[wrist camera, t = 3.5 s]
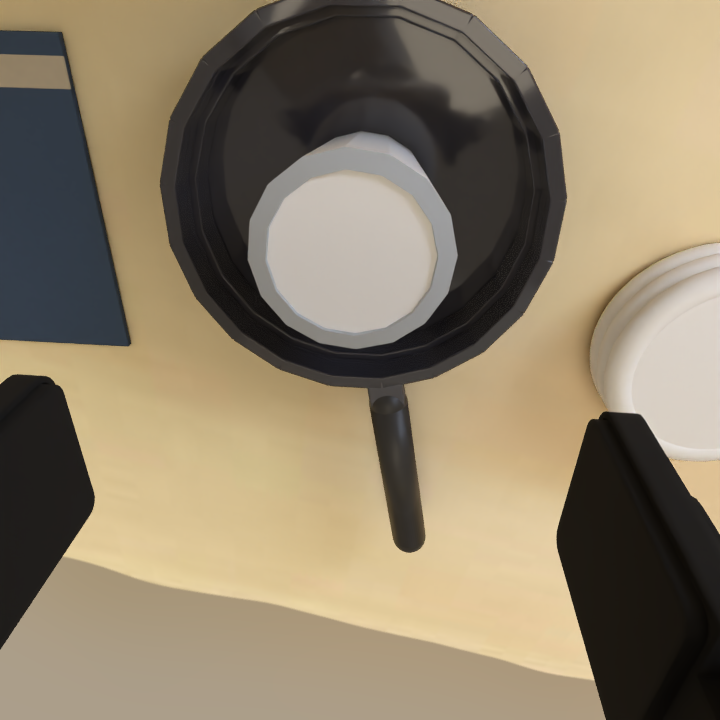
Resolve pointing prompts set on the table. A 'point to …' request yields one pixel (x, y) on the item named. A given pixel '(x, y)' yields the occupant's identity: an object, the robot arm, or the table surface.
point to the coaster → (666, 352)
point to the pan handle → (398, 465)
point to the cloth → (50, 205)
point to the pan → (380, 116)
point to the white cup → (353, 243)
